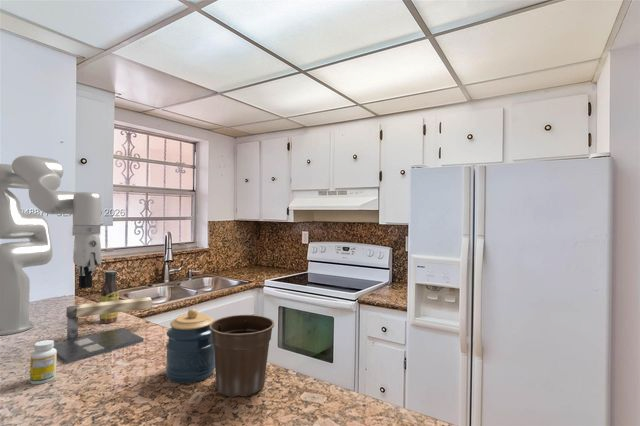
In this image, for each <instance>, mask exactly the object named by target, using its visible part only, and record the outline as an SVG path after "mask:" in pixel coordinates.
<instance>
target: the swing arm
mask: <svg viewBox="0 0 640 426" xmlns="http://www.w3.org/2000/svg"><path fill="white" fill-rule="evenodd" d="M152 308H153V299H152V298H151V297H150V296H148V297H138V298H137V297H136V298H129V299H127V298H126V299H119V300H118V301H109V302H93V303H82V304H77V305H71V306H67V307H66V311H65V312H66V313H65V314H66V318H68V317H69V318H70V317H78V318H82V317H89V316H90V317H91V316H100V314H107V313H115V312H118V313H122V312H130V311H137V310H139V311H140V310H146V309H152Z"/></svg>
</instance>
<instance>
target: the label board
mask: <svg viewBox="0 0 640 426" xmlns="http://www.w3.org/2000/svg"><path fill="white" fill-rule="evenodd" d="M66 318H67V322H66V324H67V325H66V326H67V327H66V330H67V331H66V341H62V342H61V341H60V342H58V343H54V347H53V348H55V349H56V350H57V358H58V359H60V360H61V361H62V362H63V363H65V364H66V365H67V364H71V363H74V362H78V361H81V360H85V359H88V358H91V357H95V356H99V355H102V354H106V353H109V352H112V351H116V350H120V349H122V348H126V347H130V346H134V345H137V344H140V343H144V339H145V338H144V337H142V336H139V335H138V334H136V333H133V332H131V331H129V330H127V329H125V328H123V327H120V328H115V329H111V330H107V331H103V332H100V333H95V334H92V335H91V334H90V335H87V336H81V337H78V336H79V317H70V318H69V317H66Z"/></svg>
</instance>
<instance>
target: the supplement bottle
mask: <svg viewBox="0 0 640 426" xmlns="http://www.w3.org/2000/svg"><path fill="white" fill-rule="evenodd" d="M54 344H55V341H54V340H52V339H45V340H41V341H37V342H35V343H34V345H33V349H34V351H33V352H32V353H31V354H30V367H29V370H30V371H29V373H30V374H29V382H30V383H31V384H32V385H41V384H46V383H49V382H51V381H53V380H54V379H55V378H56V377H57V360H58V359H57V358H58V357H57V350H56V349H55V348H53V347H54Z"/></svg>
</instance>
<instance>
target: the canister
mask: <svg viewBox="0 0 640 426" xmlns="http://www.w3.org/2000/svg"><path fill="white" fill-rule="evenodd" d="M213 321H215V320H214V319H213V317H211V316H209V315H208V314H206V313H201V312H198V311H197V309H196V308H190V309H189V310H188V311H187V313H184V314H182V315H179V316H177V317H175V318H174V319H173V320H171V322H170V323H169V325H170V328H168V329H167V330H166V336H167V337H168V339H167V340H168V341H167V343H166V345H165V346H166V366H165V374H166V378H167V379H168V380H169V381H170V382H173V383H176V384H191V382H192V383H196V381H197V382H200V381H203V380H205V379H208V378H209V377H211V375H213V374H214V372H215V353H214V344H213V342H212V331H211V330H210V324H211V323H212V322H213Z"/></svg>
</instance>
